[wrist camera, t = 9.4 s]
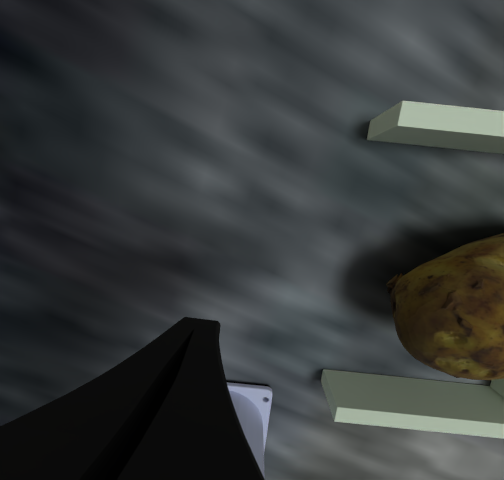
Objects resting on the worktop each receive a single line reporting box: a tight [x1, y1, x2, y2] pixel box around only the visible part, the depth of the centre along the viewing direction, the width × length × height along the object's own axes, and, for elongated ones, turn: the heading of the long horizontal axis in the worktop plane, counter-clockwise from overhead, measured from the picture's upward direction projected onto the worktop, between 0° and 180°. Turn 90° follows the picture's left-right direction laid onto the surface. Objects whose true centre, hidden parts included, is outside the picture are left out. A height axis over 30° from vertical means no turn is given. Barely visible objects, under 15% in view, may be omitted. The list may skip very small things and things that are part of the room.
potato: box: [386, 233, 504, 380], centre depth 14 cm, size 8×13×8 cm, turn 89°
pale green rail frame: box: [321, 101, 504, 438], centre depth 16 cm, size 20×15×4 cm
